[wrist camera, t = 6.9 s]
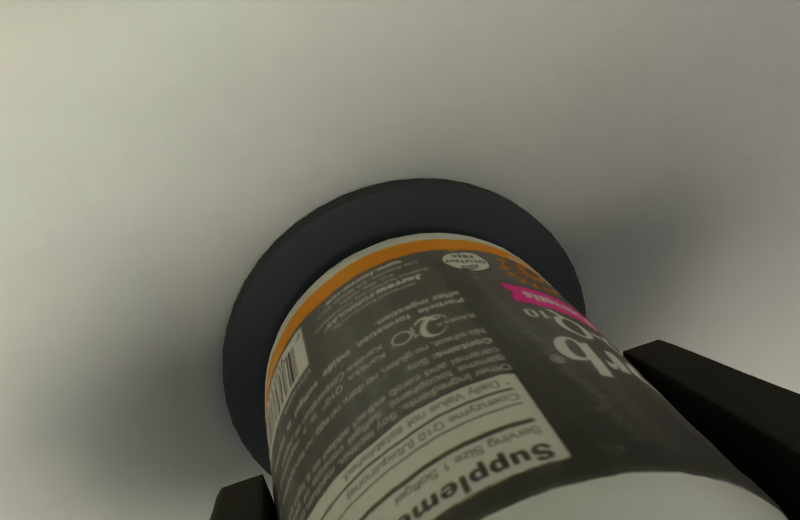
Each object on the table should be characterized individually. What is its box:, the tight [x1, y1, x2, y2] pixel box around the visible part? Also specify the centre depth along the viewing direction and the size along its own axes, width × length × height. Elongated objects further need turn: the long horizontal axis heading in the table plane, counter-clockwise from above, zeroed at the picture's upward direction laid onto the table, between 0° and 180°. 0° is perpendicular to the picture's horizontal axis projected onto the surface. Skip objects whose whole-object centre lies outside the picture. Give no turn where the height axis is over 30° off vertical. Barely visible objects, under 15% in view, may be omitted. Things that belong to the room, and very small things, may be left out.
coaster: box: [223, 179, 586, 476], centre depth 14 cm, size 7×7×1 cm
